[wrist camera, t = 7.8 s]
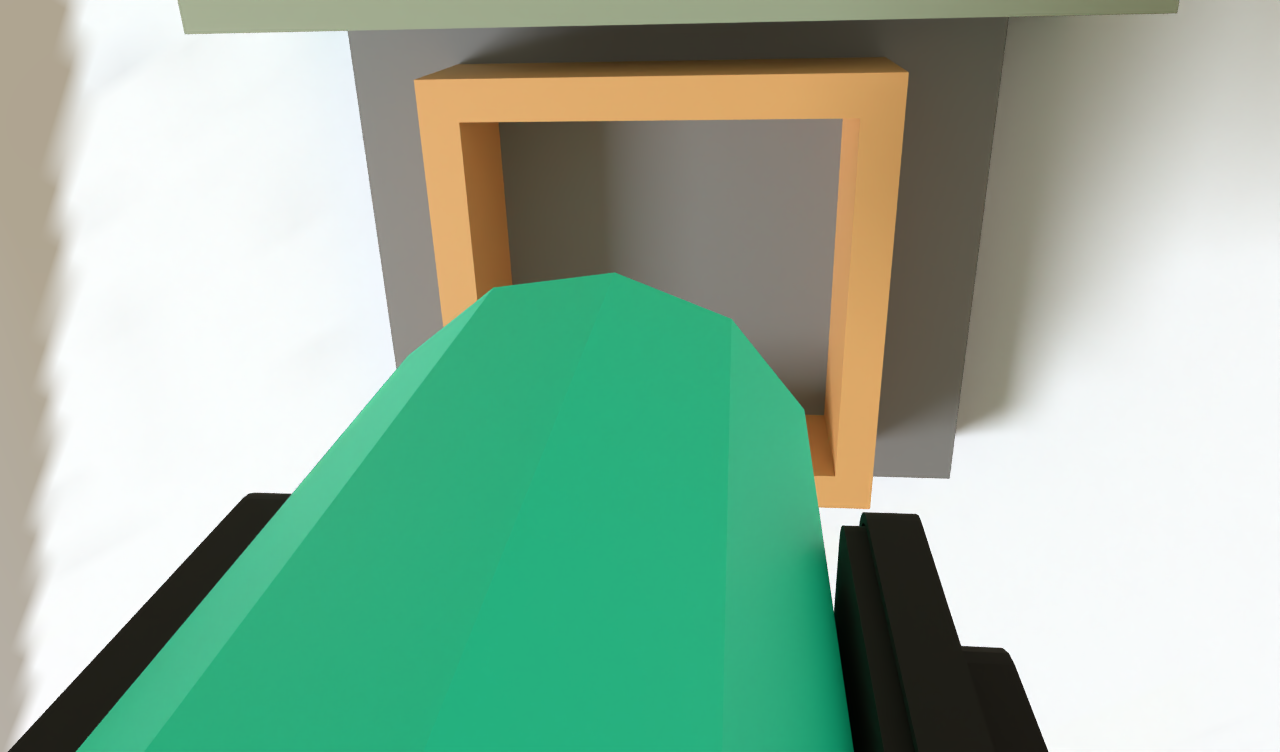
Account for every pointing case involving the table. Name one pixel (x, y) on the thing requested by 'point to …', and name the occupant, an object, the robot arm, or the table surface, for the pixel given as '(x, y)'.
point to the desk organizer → (699, 177)
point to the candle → (529, 556)
